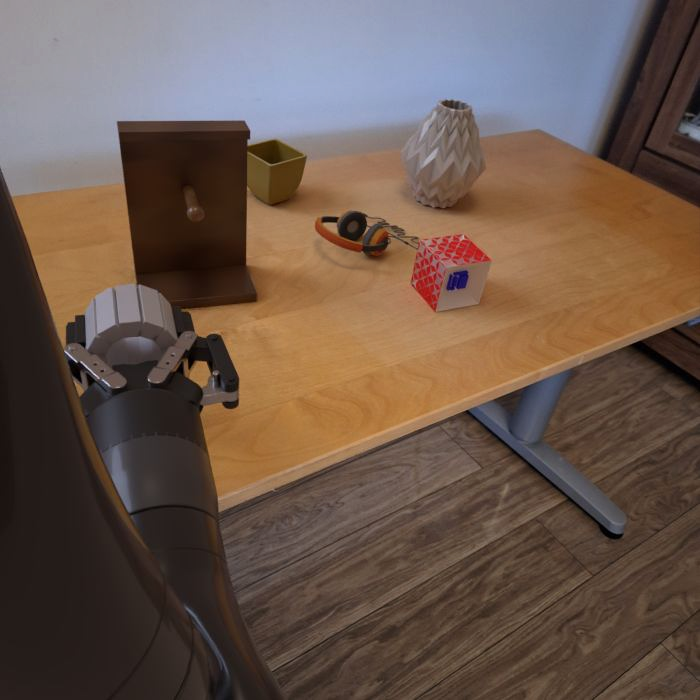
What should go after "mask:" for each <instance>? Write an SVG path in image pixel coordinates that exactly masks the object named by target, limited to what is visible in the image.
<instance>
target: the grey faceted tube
mask: <svg viewBox="0 0 700 700" xmlns="http://www.w3.org/2000/svg"><path fill="white" fill-rule="evenodd" d="M84 315H85V328H86V346H85V349H86V350H87V351H88V352H89V353H90V354H91V355H94V354H96V355H97V356H99V357H100V358H101V359H102V360H103V361H104V362H105V363H106V364H107V365H109V366H110V367H111V368H112V365H119V364H139V363H142V362H146V361H153V360H158V363H159V361H160V360H161V358H162V357H163V355H164V354H165V352H166V351H167V349H168V348H169V346H174V344H175V343H176V341H177V340H178V336H177V332H176V327H175V322H174V317H173V312H172V308H171V305H170V303H169V302H168V301H167V300H166V299H165V298H164V296H163V295H162V294H161V293H158V292H157V290H154V289H151V288H148V287H146V286H143V285H140V284H139V286H138V288H137V283H128V284H117V285H115V288H114V287H113V286H110V287H108V288H107V289H105V290H103V291H101V292H100V293H98V294H96V295H95V296H94V298H92V299H91V300H90V303H89V304H88V306H87V308H86V310H85V311H84ZM136 336H139V337H136ZM126 337H130V338H126Z"/></svg>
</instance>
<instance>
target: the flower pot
mask: <svg viewBox="0 0 700 700" xmlns="http://www.w3.org/2000/svg"><path fill="white" fill-rule="evenodd" d="M307 159H308V155H307V154H306V153H304V152H303V151H301V150H300V149H298V148H295V147H293V146H292V145H290V144H288V143H286V142H284V141H282V140H280V139H277V138H272V139H268V140H263V141H259V142H256V143H251V144H248V149H247V189H249V191H250V193H251V194H252V196H254V197H256V198H257V199H259V200H261V201H262V202H264V203H265V204H267V205H269V206H271V205H275V204H279V203H282V202H284V201H287V200H289V199H291V198H292V197H293V196H294V194H295V193H296V192H297V190H298V188H299V187H300V185H301V183H302V179H303V177H304V171H305V167H306V163H307Z"/></svg>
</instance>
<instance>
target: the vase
mask: <svg viewBox="0 0 700 700" xmlns="http://www.w3.org/2000/svg"><path fill="white" fill-rule="evenodd" d="M437 101H438V102H436V106H435V107H431V110H430V112H429V113H428V114H427V115H426V116H425V117H423V119H422V120H421V122H420V124H419V126H418V128H417V129H416V131H415V132H414V134H412V135H411V136H410V137H409V138H408V140H407V142H406V143H405V145H404V146H403V148H402V150H401V151H400V157H401V161H402V164H403V167H404V173H405V177H406V180H407V183H408V186H409V188H410V189H411V190H412V196H413V197H415V201H416V202H420V203H421V204H422V206H429V207H431V208H433V209H434V208H440V209H445V208H447V207H448V208H452V207H453V206H454V204H457V203H458V200H459V199H463V198H464V197H465V195H467V193H468V192H469V191H470V190H471V189H472V187H473V186H474V185H475V183H476V182H477V181H478V180H479V178H480V177H481V176H482V174H483V173H484V172H485V171H486V170H487V165H486V160H485V159H486V158H485V153H484V149H483V147H482V145H481V140H480V128H479V126H478V125H477V122H476V118H475V117H476V116H475V114H474V113H473V107H472V105H470V104H468V103H467V102H462V101H461V100H460V99H458V100H455V99H453V98H451V99H446V98H444V99H443V100H441V99H439V100H437Z"/></svg>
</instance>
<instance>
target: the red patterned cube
mask: <svg viewBox="0 0 700 700" xmlns="http://www.w3.org/2000/svg"><path fill="white" fill-rule="evenodd" d="M418 243H419V244H417V245H418V246H417V248H418V250H417V249H416V255H415V260H414V266H413V270H412V274H411V279H410V285H411V286H412V287H413V289H415V291H416V292H417V293H418V294H419V295H420V297H421V298H422V299H423V300H424V301H425V302H426V303H427V305H428V306H429V307H430V308H431V309H432V310H433V311H434V312H435V313H439V312H443V311H449V310H455V309H461V308H466V307H470V306H477V305H480V303H481V299H482V295H483V292H484V289H485V285H486V283H487V282H486V281H487V279H488V277H489V276H488V275H489V272H490V269H491V265H492V262H493V260H492V259H491V258H490V257H489V256H488V255H487V254H486V253H485V252H484V251H483V250H482V249H481V248H479V247H478V246H477V245H476V244H475V243H474V242H473V241H472V240H471V239H470V238H469V237H468V236H467V235H465V234H464V233H463V234H462V233H461V234H454V235H446V236H439V237H437V236H436V237H431V238H422V239H419V242H418Z"/></svg>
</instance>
